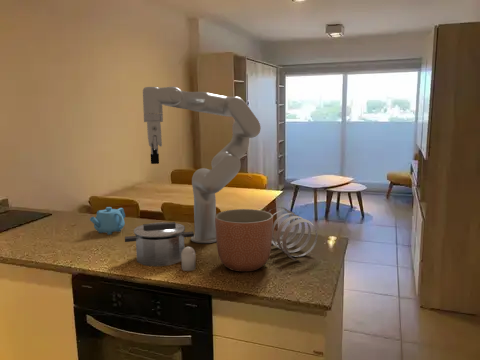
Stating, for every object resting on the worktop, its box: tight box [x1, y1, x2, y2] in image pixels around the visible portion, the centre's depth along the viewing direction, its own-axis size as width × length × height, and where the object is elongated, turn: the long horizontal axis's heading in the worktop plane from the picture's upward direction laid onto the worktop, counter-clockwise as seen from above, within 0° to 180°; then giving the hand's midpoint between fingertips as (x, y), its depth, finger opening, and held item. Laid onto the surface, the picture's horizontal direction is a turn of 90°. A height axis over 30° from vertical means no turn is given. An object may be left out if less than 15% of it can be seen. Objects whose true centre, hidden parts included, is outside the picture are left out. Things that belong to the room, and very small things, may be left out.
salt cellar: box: [181, 246, 196, 272], centre depth 153 cm, size 5×5×8 cm
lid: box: [133, 221, 186, 238], centre depth 163 cm, size 19×19×3 cm
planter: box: [215, 208, 274, 272], centre depth 154 cm, size 21×21×19 cm
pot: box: [124, 231, 195, 267], centre depth 165 cm, size 26×20×10 cm
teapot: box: [89, 206, 126, 236], centre depth 200 cm, size 20×17×12 cm
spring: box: [270, 206, 318, 262], centre depth 172 cm, size 16×16×30 cm
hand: (155, 163), depth 174 cm, fingers closed
